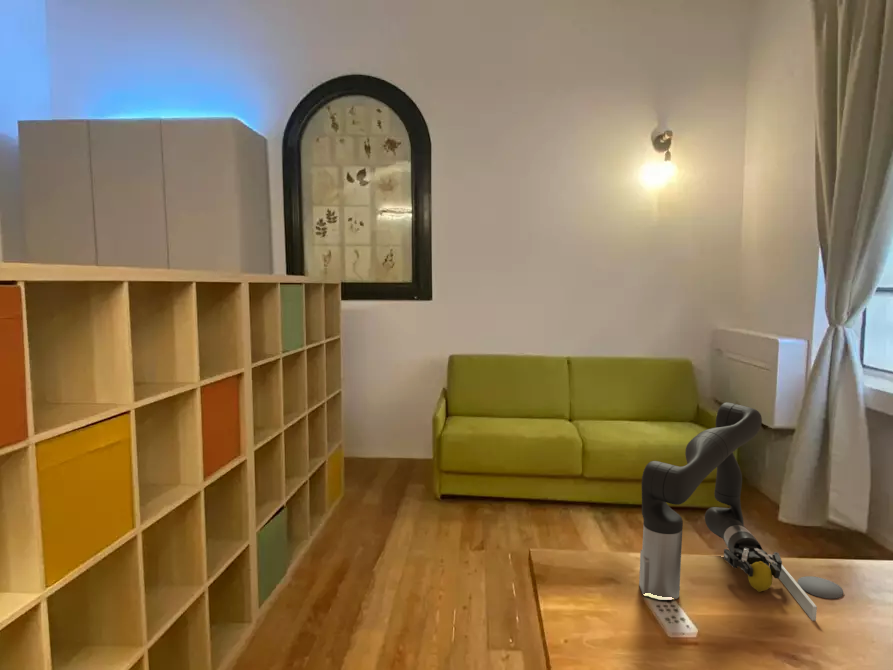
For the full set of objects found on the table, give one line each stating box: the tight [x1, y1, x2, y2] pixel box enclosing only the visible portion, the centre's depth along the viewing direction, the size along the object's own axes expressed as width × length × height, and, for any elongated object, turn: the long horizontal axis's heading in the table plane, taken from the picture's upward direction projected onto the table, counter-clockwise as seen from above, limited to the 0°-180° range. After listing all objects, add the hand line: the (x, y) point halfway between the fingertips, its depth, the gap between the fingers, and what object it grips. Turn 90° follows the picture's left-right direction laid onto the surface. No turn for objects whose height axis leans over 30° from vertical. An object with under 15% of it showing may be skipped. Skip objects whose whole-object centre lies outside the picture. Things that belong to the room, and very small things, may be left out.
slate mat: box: [797, 575, 844, 600], centre depth 159 cm, size 10×10×1 cm
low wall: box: [777, 564, 818, 622], centre depth 156 cm, size 1×24×4 cm, turn 172°
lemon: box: [747, 561, 773, 593], centre depth 157 cm, size 6×6×8 cm
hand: (764, 573), depth 155 cm, fingers closed on lemon, 5 cm apart
